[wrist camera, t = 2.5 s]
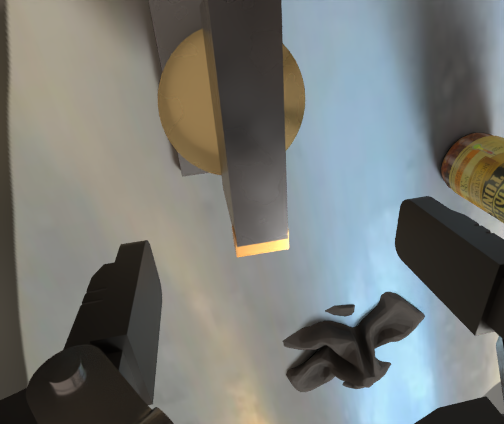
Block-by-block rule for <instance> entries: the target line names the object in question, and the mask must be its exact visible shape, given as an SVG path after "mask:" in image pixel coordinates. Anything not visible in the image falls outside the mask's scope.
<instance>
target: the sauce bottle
mask: <svg viewBox="0 0 504 424" xmlns="http://www.w3.org/2000/svg"><path fill="white" fill-rule="evenodd" d="M441 173H442V177H443V179H444V181H445V183H446V184H447V186H448V187H449V188H451V189H452V190H453V191H454V192H455V193H457V194H458V195H460V196H461V197H463V198H465V199H466V200H468V201H469V202H471V203H473V204H474V205H476V206H477V207H479V208H481V209H482V210H484V211H485V212H487V213H488V214H490V215H492V216H493V217H495V218H497V219H498V220H500V221H501V222H503V223H504V138H502V137H499V136H493V135H491V134H486V133H473V134H469V135H467V136H465V137H463V138H461V139H459V140H458V141H457V142H456V143H455V144H454V145H453V146H452V147H451V148H450V150H449V151H448V153H447V154H446V156H445V158H444V160H443V162H442V167H441Z"/></svg>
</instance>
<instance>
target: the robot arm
mask: <svg viewBox="0 0 504 424" xmlns="http://www.w3.org/2000/svg"><path fill="white" fill-rule="evenodd" d="M395 247H396V251H397V254H398V256H399V257H400V259H401V260H402V261H403V262H404V263H405V264H406V265H407V266H408V267H409V268H410V269H411V270H412V271H413V272H414V273H415V274H416V276H417V277H418V278H419V279H420V280H421V281H422V282H423V283H424V284H425V285H426V286H427V287H428V288H429V289H430V290H431V291H432V292H433V293H434V294H435V295H436V296H437V297H438V298H439V299H440V300H441V301H442V302H443V303H444V304H445V305H446V306H447V307H448V308H449V309H450V311H451V312H452V313H453V314H454V315H455V316H456V317H457V318H458V319H459V320H460V321H461V322H462V323H463V324H464V325H465V326H466V327H467V328H468V329H469V330H470V331H471V332H472V333H473V334H474V335H475V336H477V335H482V334H486V333H491V332H496V333H497V334H498V335H499V338H498V340H497V343H496V350H497V357H498V364H499V371H500V378H501V385H502V393H503V400H504V239H502V238H501V237H499V236H497V235H496V234H494V233H491V232H490V230H488V229H486V228H485V227H483V226H479V224H478V223H477V222H475V221H474V220H472V219H471V218H469V217H467V216H466V215H464V214H461V213H458V212H456V211H453V210H451V209H449V208H447V207H446V206H444V205H443V204H441V203H440V202H438V201H437V200H435V199H434V198H432V197H429V196H425V197H419V198H413V199H407V200H404V201H403V202H402V203H401V206H400V211H399V218H398V225H397V231H396V238H395ZM161 308H162V290H161V284H160V279H159V276H158V272H157V268H156V265H155V261H154V257H153V254H152V250H151V247H150V244H149V242H148V241H147V240H145V241H139V242H133V243H126V244H121V245H120V247H119V251H118V254H117V257H116V260H115V263H109V264H104V265H103V266H102V267H101V268H100V269H99V270H98V271H97V272H96V273H95V274H94V275H93V277H92V278H91V281H90V283H89V286H88V288H87V293H86V294H85V296H84V298H83V301H82V305H81V306H80V309H79V311H78V314H77V316H76V319H75V321H74V324H73V326H72V329H71V331H70V334H69V337H68V339H67V342H66V344H65V347H64V349H63V350H62V351H60V352H59V353H57V354H55V355H53V356H52V357H51V358H49V359H48V360H47V361H45V362H44V363H43V364H42V365H41V366H40V367H39V368H38V369H37V370H36V372H35V373H34V374H33V376H32V377H31V379H30V381H29V383H28V386H27V388H25V389H24V390H21V391H19V392H18V393H15V394H13V395H11V396H9V397H7V398H4V399H2V400H0V424H174V423H173V422H172V421H171V420H170V419H169V417H168V416H167V415H166V414H165V413H164V412H163V411H162V410H160V409H159V408H157V407H155V408H154V409H153V410H152V409H151V408H150V407H149V406H148V405H151V404H153V396H154V385H155V374H156V363H157V352H158V341H159V330H160V319H161ZM414 424H504V414H501V413H500V412H499V411H498V410H497V409H496V407H495V406H494V405H493V404H492V403H491V401H490V400H489V399H488V398H487V397H481V398H477V399H473V400H469V401H465V402H461V403H457V404H452V405H448V406H444V407H440V408H437V409H436V410H434V411H433V412H431V413H430V414H428V415H427V416H425V417H424V418H422V419H421V420H419V421H418V422H416V423H414Z"/></svg>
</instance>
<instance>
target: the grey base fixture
mask: <svg viewBox="0 0 504 424" xmlns="http://www.w3.org/2000/svg"><path fill="white" fill-rule="evenodd" d="M148 1H149V7H150V12H151V17H152V22H153V27H154V33H155V38H156V43H157V48H158V53H159V59H160V64H161V69H162V72H163V70H164V67H165V65H166V63H167V61H168V59H169V58H170V56H171V54H172V53H173V52H174V51H175V49H176V48H177V47H178V45H179V44H180V43H181V42H182V41H183V40H185V39H186V38H187V37H188V36H190V35H191V34H193V33H194V32H196V31H198V30H200V29H202V22H201V14H200V7H199V6H200V4H201V2H202V0H148ZM178 157H179V162H180V168H181V173H182V176H189V175H196V174H204V173H210V172H206V171H204V170H202V169H200V168H198V167H196V166H194V165H193V164H191V163H190V162H188V161H187V160H186V159H185V158H183V157H182V156H181V155H180V154H179V153H178Z"/></svg>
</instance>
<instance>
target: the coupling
mask: <svg viewBox="0 0 504 424" xmlns="http://www.w3.org/2000/svg"><path fill="white" fill-rule="evenodd" d="M199 7H200V14H201V22H202V29H200V30H198V31H196V32H194V33H193V34H191V35H190V36H188V37H187V38H186V39H185V40H183V41H182V42H181V43H180V44H179V45H178V47H177V48H176V49H175V51H174V52H173V53H172V54H171V56H170V58H169V59H168V61H167V63H166V65H165V67H164V70H163V72H162V75H161V79H160V83H159V89H158V109H159V116H160V120H161V123H162V126H163V129H164V131H165V134H166V136H167V137H168V139H169V141H170V142H171V144H172V145H173V147H174V148H175V149H176V151H177V152H178V153H179V154H180V155H181V156H182V157H183V158H185V159H186V160H187V161H188V162H190V163H191V164H193V165H194V166H196V167H198V168H200V169H202V170H204V171H206V172H210V173H213V174H217V175H222V183H223V190H224V194H225V198H226V202H227V207H228V211H229V215H230V219H231V223H232V231H233V239H234V246H235V250H236V255H237V257H243V256H248V255H254V254H260V253H266V252H272V251H278V250H284V249H289V234H288V218H287V183H286V150H287V149H288V147H289V146H290V145H291V144H292V142H293V140H294V139H295V137H296V135H297V133H298V131H299V128H300V126H301V123H302V119H303V115H304V109H305V88H304V83H303V78H302V75H301V72H300V69H299V67H298V65H297V63H296V61H295V59H294V58H293V56H292V54H291V53H290V51H289V50H288V49H287V48H286V47H285V46H284V44H283V43H282V10H281V0H202V2H201V4H200V6H199Z"/></svg>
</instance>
